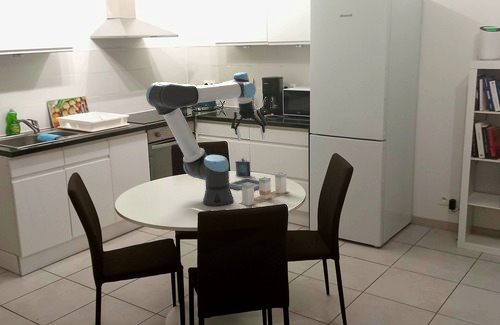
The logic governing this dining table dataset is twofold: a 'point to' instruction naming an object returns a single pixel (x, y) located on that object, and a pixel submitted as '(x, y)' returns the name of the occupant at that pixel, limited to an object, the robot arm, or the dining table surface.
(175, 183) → the dining table surface
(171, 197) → the dining table surface
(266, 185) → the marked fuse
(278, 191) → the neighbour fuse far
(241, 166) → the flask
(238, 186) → the tray
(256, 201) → the fuse board
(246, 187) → the block
